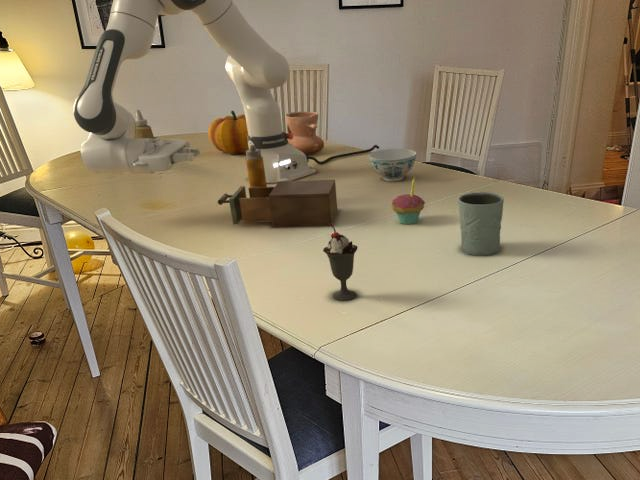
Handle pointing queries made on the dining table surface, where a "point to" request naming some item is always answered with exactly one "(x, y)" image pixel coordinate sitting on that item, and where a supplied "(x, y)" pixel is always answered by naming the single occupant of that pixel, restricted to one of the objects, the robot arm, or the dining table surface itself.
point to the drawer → (249, 204)
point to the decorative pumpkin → (229, 134)
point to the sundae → (341, 263)
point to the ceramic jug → (304, 132)
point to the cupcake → (408, 206)
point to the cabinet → (303, 203)
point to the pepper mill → (255, 167)
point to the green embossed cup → (480, 222)
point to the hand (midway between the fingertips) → (196, 154)
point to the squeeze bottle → (142, 127)
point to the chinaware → (392, 163)
